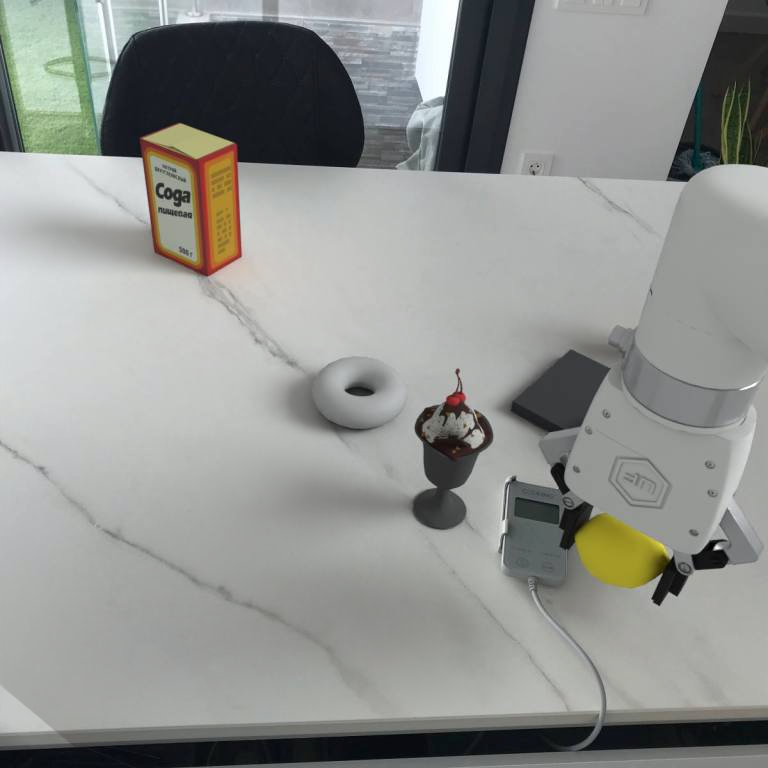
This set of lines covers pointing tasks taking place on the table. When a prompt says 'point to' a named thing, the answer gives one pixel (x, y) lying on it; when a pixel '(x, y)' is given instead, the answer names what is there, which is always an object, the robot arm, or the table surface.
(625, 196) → the table surface
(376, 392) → the donut
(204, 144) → the baking soda box
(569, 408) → the scale
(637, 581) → the lemon
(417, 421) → the sundae
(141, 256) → the table surface
